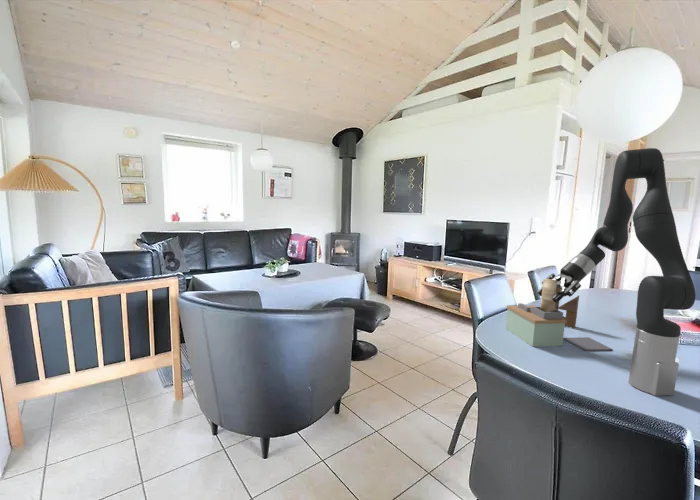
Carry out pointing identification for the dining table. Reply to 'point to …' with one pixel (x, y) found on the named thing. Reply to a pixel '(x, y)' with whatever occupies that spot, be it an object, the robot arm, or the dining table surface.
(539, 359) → the dining table surface
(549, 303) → the tan ridged cylinder
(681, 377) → the dining table surface
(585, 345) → the charcoal mat
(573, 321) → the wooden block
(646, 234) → the robot arm
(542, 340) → the pale green box
